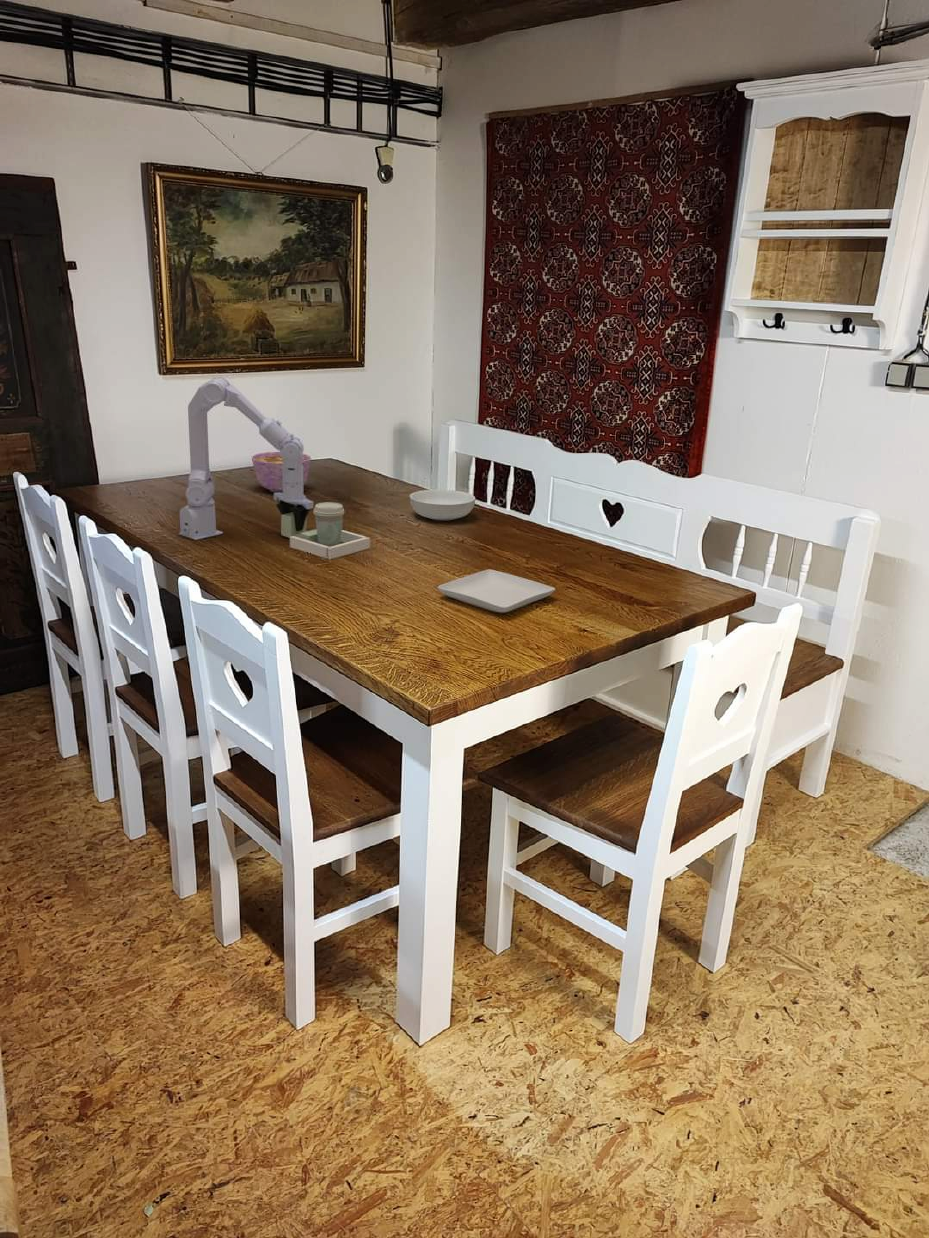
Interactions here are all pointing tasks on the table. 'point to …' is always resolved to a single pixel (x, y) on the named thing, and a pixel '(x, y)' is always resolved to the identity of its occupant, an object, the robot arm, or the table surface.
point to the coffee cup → (329, 523)
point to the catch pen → (350, 546)
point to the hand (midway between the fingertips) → (294, 528)
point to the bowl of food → (274, 470)
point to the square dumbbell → (290, 530)
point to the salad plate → (496, 590)
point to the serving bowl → (442, 504)
